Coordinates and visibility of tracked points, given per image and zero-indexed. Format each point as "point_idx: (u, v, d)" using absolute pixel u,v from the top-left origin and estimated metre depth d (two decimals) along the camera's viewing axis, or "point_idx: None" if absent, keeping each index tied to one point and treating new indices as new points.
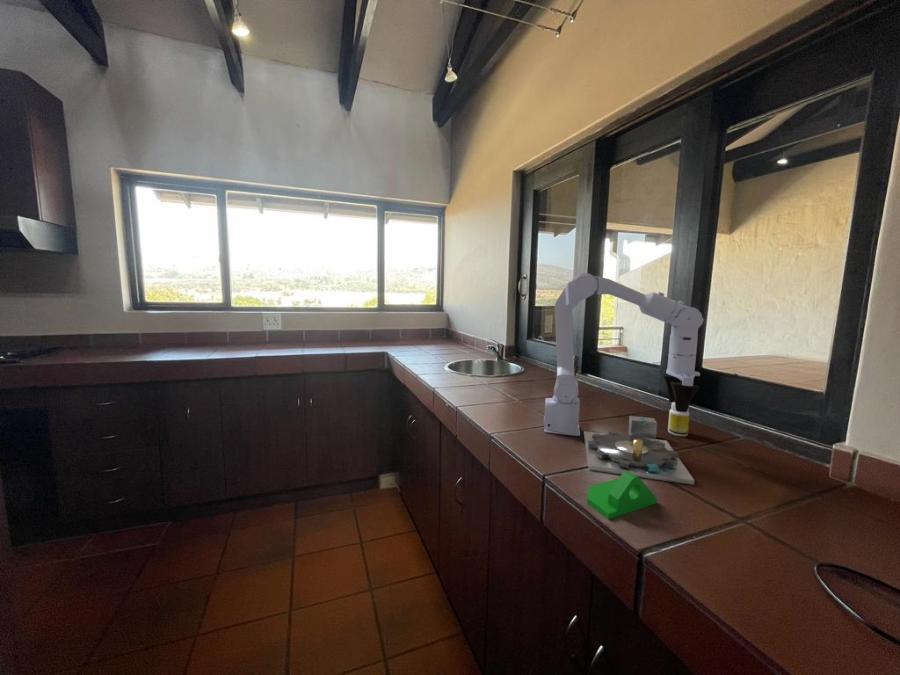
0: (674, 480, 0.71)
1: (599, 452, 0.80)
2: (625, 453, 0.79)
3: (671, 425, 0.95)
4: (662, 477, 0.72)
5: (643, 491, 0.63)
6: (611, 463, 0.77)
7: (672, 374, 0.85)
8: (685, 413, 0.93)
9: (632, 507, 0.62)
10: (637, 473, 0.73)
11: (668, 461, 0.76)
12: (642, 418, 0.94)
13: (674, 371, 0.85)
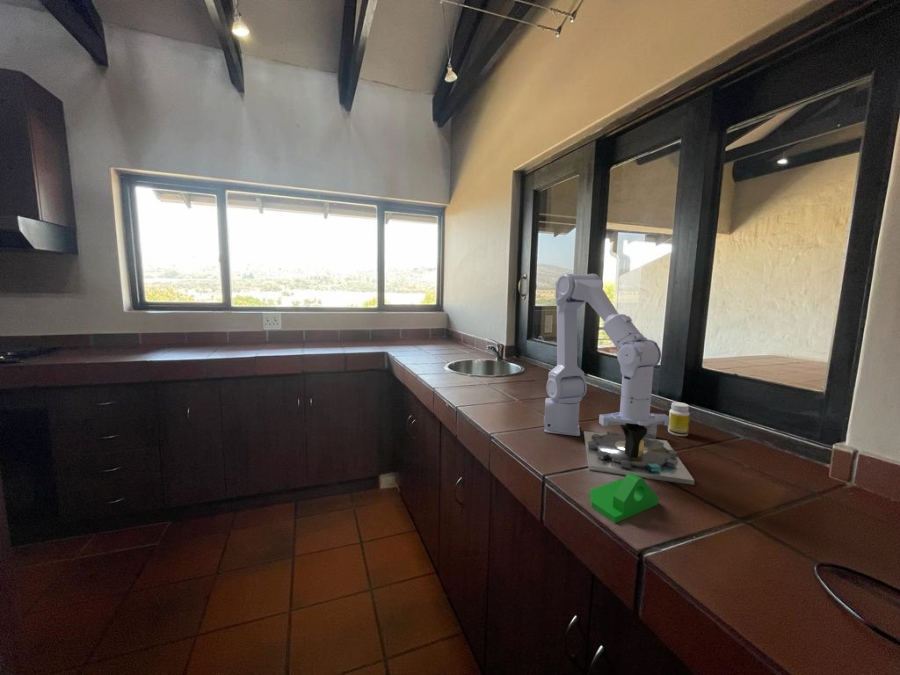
0: (674, 480, 0.71)
1: (600, 453, 0.80)
2: None
3: (671, 425, 0.95)
4: (662, 477, 0.72)
5: (647, 493, 0.62)
6: (611, 463, 0.77)
7: None
8: (685, 413, 0.93)
9: (637, 509, 0.61)
10: (637, 473, 0.73)
11: (669, 461, 0.76)
12: None
13: None
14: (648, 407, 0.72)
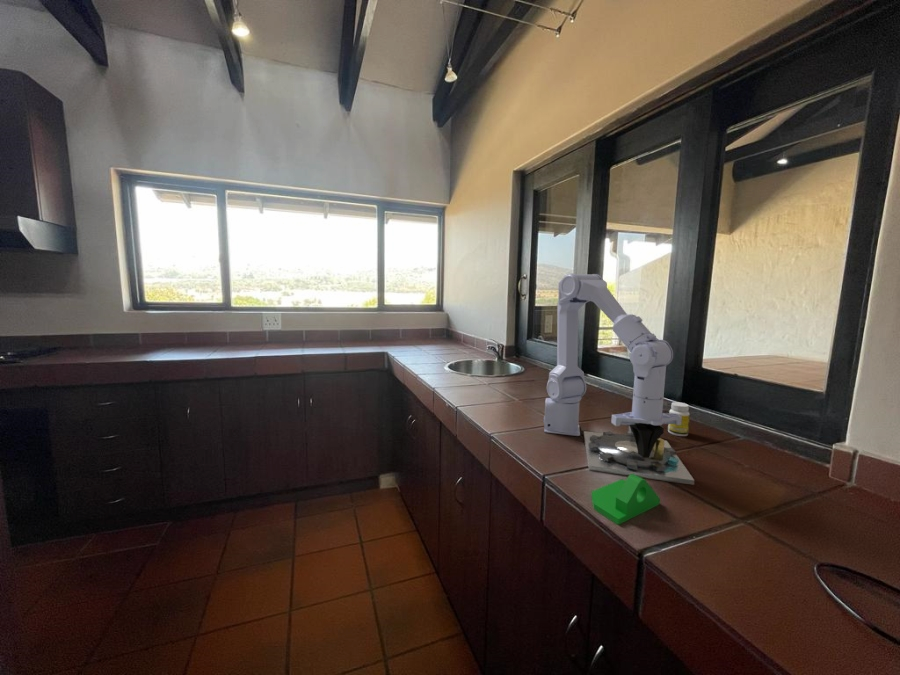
0: (674, 480, 0.71)
1: (631, 464, 0.75)
2: None
3: (671, 425, 0.95)
4: (662, 477, 0.72)
5: (649, 493, 0.62)
6: (611, 463, 0.77)
7: None
8: (685, 413, 0.93)
9: (639, 510, 0.61)
10: (637, 473, 0.73)
11: (669, 450, 0.81)
12: None
13: None
14: (661, 407, 0.72)
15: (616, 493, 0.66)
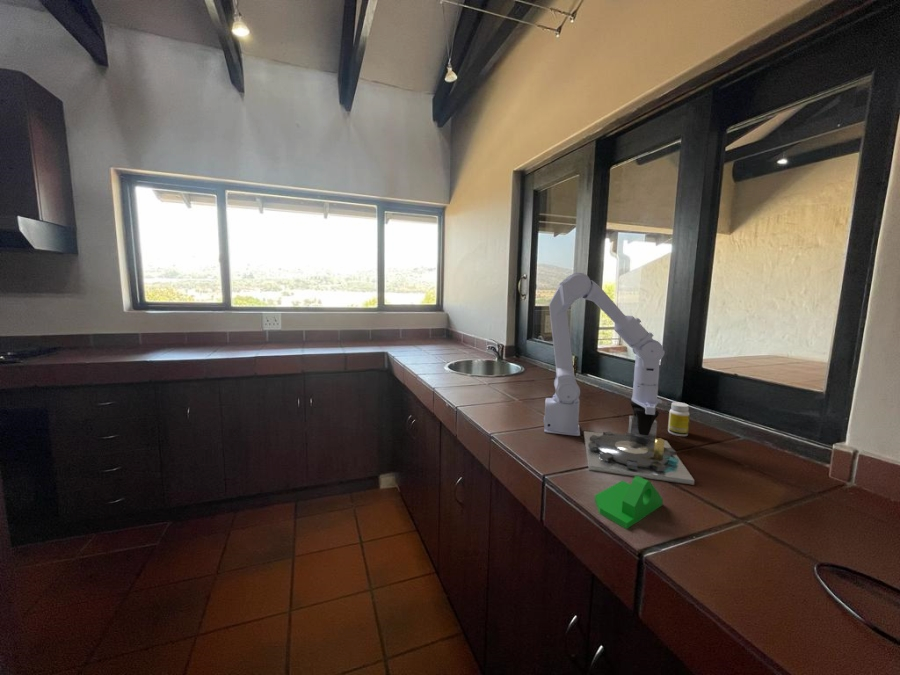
0: (674, 480, 0.71)
1: (631, 464, 0.75)
2: (642, 455, 0.78)
3: (671, 425, 0.95)
4: (662, 477, 0.72)
5: (653, 495, 0.61)
6: (611, 463, 0.77)
7: (636, 402, 0.91)
8: (685, 413, 0.93)
9: (645, 512, 0.60)
10: (637, 473, 0.73)
11: (669, 450, 0.81)
12: None
13: (638, 399, 0.91)
14: None
15: (619, 496, 0.65)
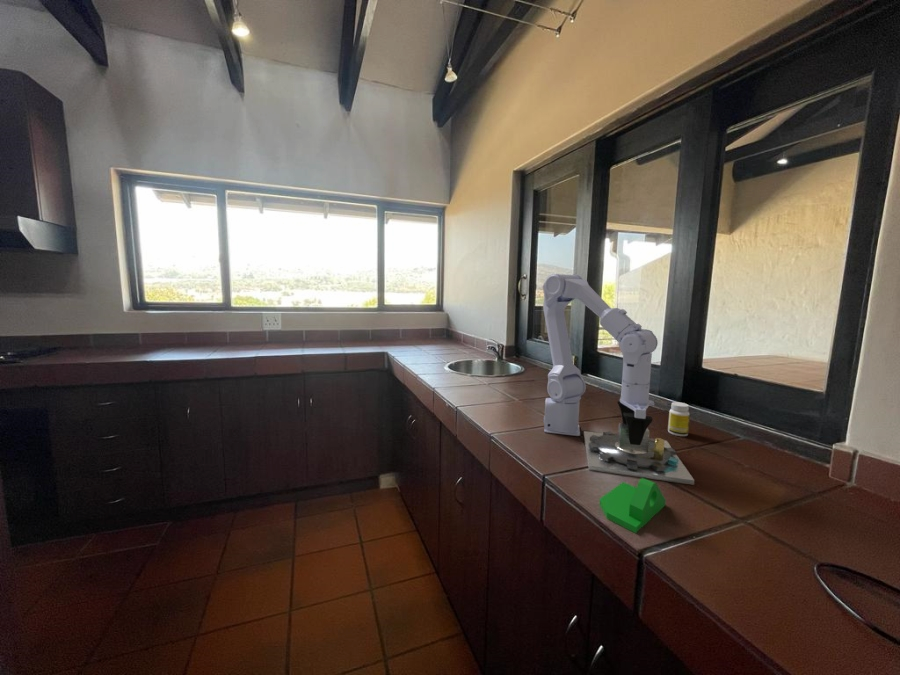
0: (674, 480, 0.71)
1: (631, 464, 0.75)
2: (642, 455, 0.78)
3: (671, 425, 0.95)
4: (662, 477, 0.72)
5: (658, 496, 0.61)
6: (611, 463, 0.77)
7: (625, 404, 0.79)
8: (685, 413, 0.93)
9: (651, 515, 0.60)
10: (637, 473, 0.73)
11: (669, 450, 0.81)
12: None
13: (627, 400, 0.79)
14: None
15: (623, 498, 0.64)
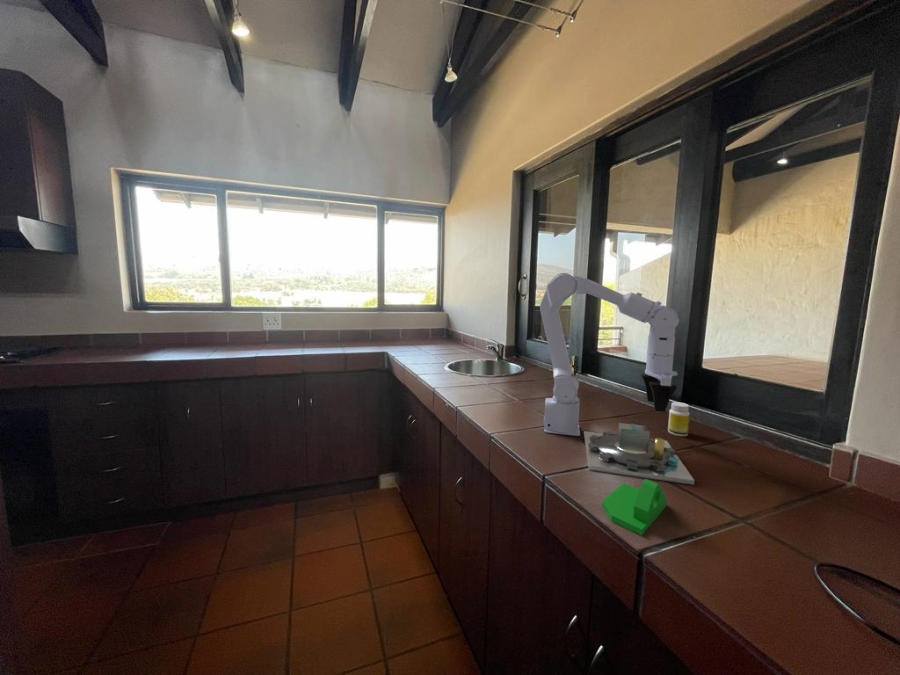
0: (674, 480, 0.71)
1: (631, 464, 0.75)
2: (642, 455, 0.78)
3: (671, 425, 0.95)
4: (662, 477, 0.72)
5: (661, 497, 0.61)
6: (611, 463, 0.77)
7: (651, 374, 0.86)
8: (685, 413, 0.93)
9: (654, 516, 0.59)
10: (637, 473, 0.73)
11: (669, 450, 0.81)
12: (633, 426, 0.82)
13: (652, 371, 0.86)
14: None
15: (626, 500, 0.64)
